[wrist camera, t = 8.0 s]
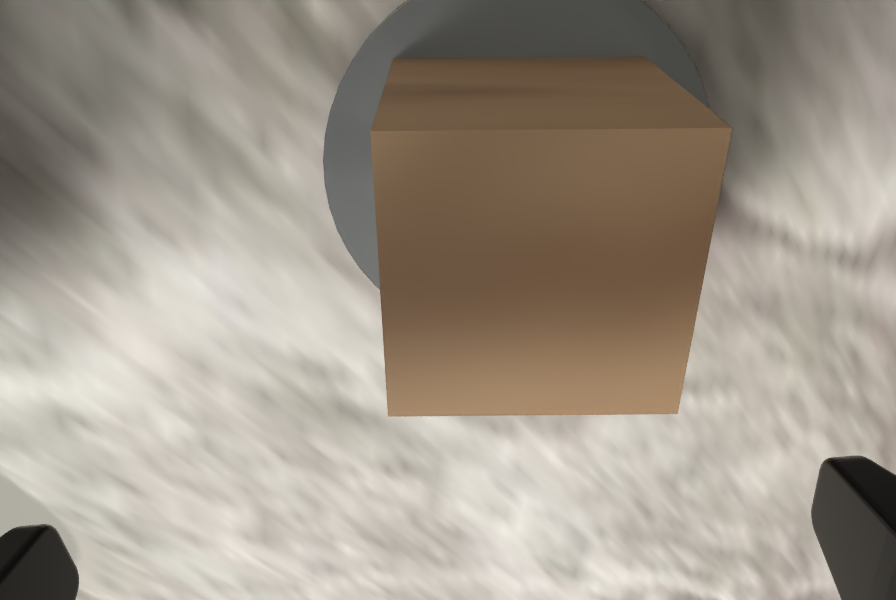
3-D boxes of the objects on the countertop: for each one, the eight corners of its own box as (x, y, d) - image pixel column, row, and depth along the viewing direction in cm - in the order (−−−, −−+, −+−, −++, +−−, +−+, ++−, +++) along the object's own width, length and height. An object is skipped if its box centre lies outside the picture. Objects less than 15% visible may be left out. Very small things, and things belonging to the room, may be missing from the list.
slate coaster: (572, 375, 22) (575, 386, 22) (271, 241, 20) (266, 250, 20) (785, 87, 18) (796, 93, 17) (432, -126, 16) (431, -127, 15)
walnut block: (616, 278, 20) (677, 413, 15) (402, 280, 20) (388, 416, 15) (644, 56, 17) (732, 127, 12) (392, 58, 17) (370, 131, 12)
